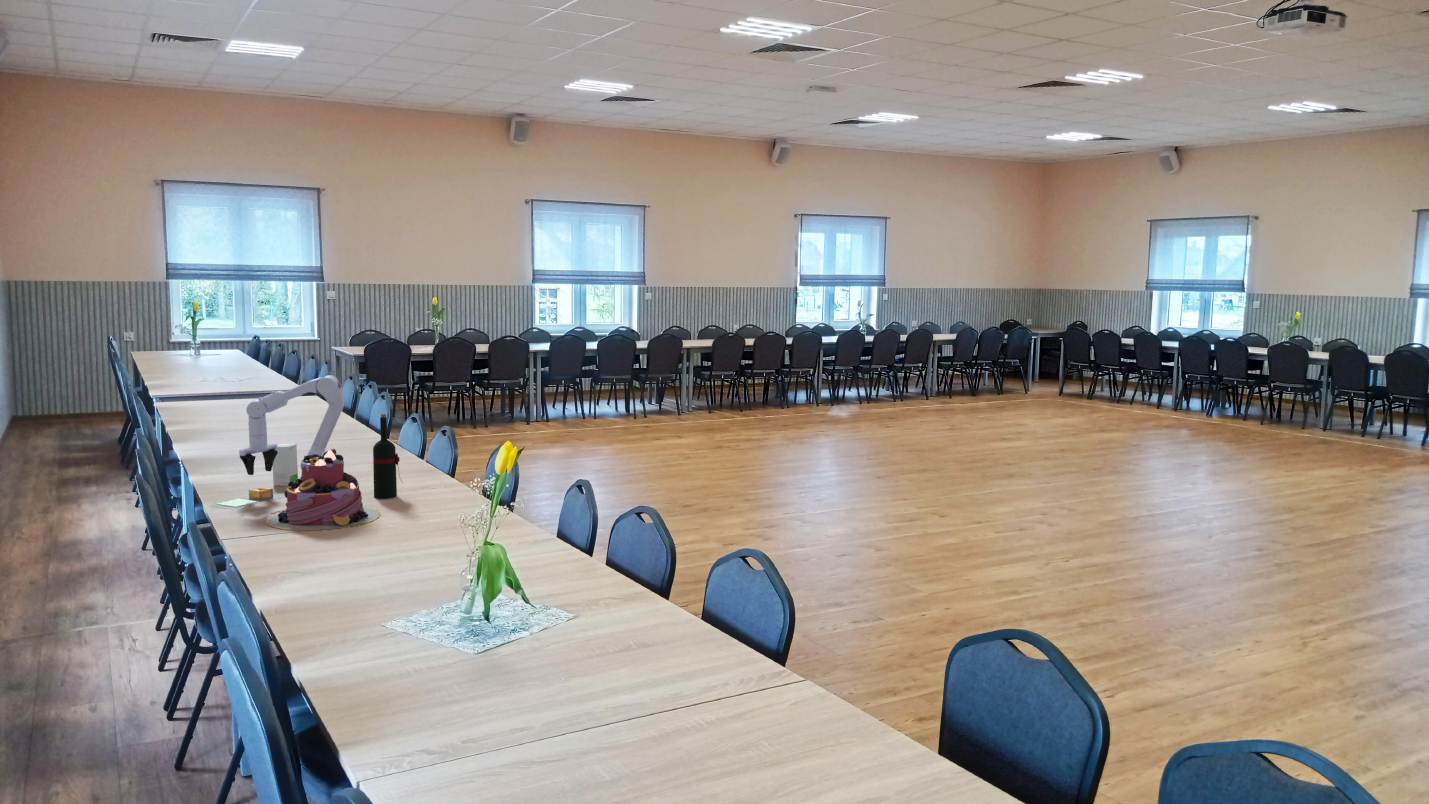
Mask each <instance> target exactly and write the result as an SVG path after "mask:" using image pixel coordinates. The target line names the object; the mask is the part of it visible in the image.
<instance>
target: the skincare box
mask: <svg viewBox="0 0 1429 804" xmlns="http://www.w3.org/2000/svg"><path fill="white" fill-rule="evenodd" d="M297 446H298V445H297V443H279V444H277V450H275V451H278V454H277V455H276V457H275V459H274V462H273V466H272V479H273V480H272V482H273V483H272V484H273V486H279V487H281V486H282V487H283V486H286V487H289V486H288V483H289V482H291V481H293V482H295V481H296V480H297V479H299V469H298V448H297Z"/></svg>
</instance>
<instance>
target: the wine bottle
mask: <svg viewBox="0 0 1429 804" xmlns="http://www.w3.org/2000/svg"><path fill="white" fill-rule="evenodd" d="M386 415H387V414H386V413H380V418H379V421H380V423H379V424H380V425H379V426H380V440H378V441H377V442H376V443H375V444H374V445H373V448H372V452H373V453H372V457H373V458H372V462H373V466H372V467H373V469H372V470H373V497H374V499H377V500H378V499H379V500H387V499H395V498H397V496H398V489H397V488H398V487H397V484H398V483H397V482H398V481H397V469H398V471H400V470H399V469H400V468H399V463H400V456H399V453H398V452H397V453H396V446H395V444H394V443H393V442H392V441H391V440H388V419H387V418H388V417H387V416H386ZM398 475H399V478H401V476H400V475H401V474H400V473H398ZM400 482H401V483H402V484H404V482H403V481H402V479H400Z"/></svg>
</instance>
